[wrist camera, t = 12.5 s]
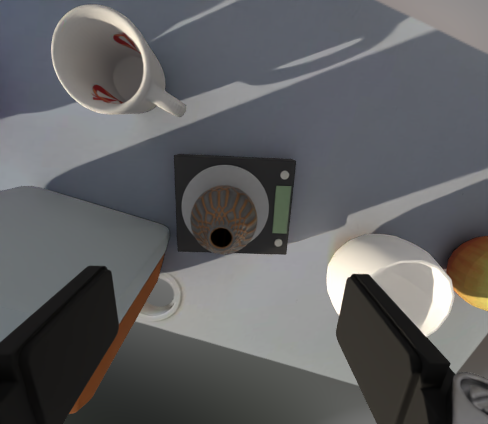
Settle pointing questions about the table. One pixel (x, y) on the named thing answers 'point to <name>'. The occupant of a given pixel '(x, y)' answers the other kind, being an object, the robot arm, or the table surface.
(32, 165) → the table surface
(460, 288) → the apple
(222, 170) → the scale
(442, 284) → the cup
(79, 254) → the alarm clock
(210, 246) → the vase
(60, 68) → the cup
